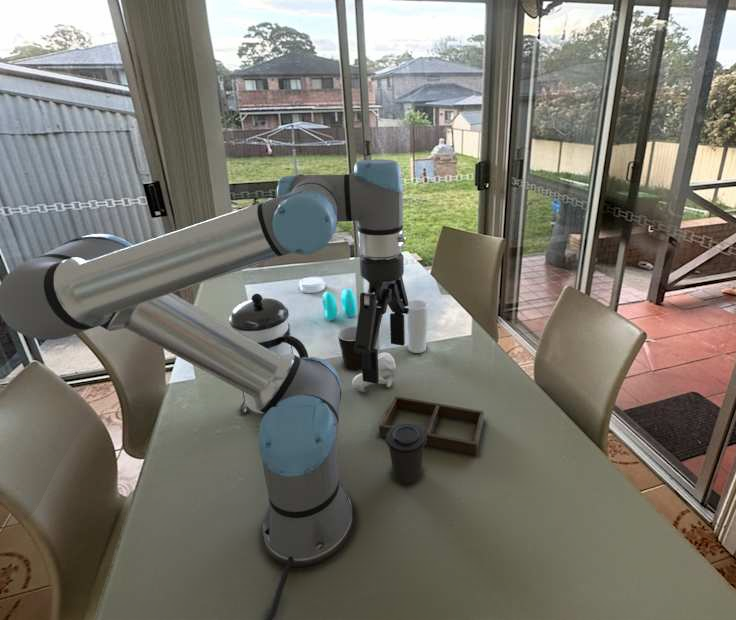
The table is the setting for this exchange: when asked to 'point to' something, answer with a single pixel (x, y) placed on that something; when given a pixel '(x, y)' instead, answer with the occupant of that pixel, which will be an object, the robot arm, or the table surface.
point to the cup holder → (436, 411)
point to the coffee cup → (406, 451)
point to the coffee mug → (349, 348)
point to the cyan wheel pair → (331, 306)
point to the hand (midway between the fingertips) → (385, 361)
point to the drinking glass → (417, 325)
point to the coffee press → (265, 331)
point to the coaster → (312, 284)
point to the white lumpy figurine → (385, 370)
